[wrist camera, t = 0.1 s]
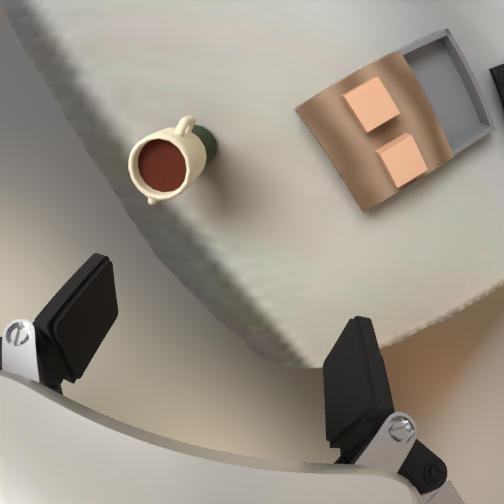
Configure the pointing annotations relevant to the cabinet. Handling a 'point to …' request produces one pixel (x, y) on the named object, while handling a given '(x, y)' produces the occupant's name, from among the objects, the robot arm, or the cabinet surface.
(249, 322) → the cabinet surface
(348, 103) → the tile
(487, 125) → the box
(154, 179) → the character mug
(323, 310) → the cabinet surface
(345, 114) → the board
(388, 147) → the tile
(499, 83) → the black sloped piece
